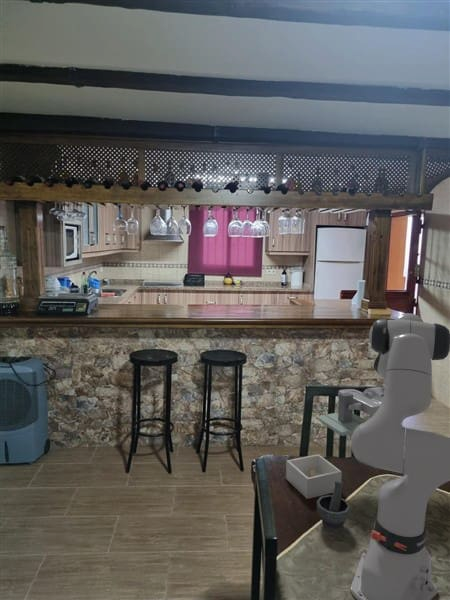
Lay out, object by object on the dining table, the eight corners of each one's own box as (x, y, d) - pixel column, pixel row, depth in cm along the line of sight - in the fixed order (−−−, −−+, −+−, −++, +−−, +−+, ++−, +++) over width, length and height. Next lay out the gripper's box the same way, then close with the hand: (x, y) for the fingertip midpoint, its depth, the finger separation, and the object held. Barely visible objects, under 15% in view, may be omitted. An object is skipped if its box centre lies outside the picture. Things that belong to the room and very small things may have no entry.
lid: (348, 416, 163) (349, 385, 162) (375, 431, 149) (377, 398, 148) (315, 422, 157) (316, 390, 156) (341, 438, 144) (342, 404, 142)
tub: (317, 471, 160) (318, 454, 160) (340, 490, 147) (341, 471, 147) (285, 478, 155) (286, 460, 154) (307, 498, 142) (307, 479, 142)
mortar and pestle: (342, 540, 122) (344, 500, 120) (311, 528, 127) (313, 490, 126) (353, 520, 131) (355, 483, 130) (325, 509, 136) (326, 474, 135)
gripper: (355, 383, 166) (326, 387, 161) (394, 400, 148) (363, 405, 142) (355, 398, 167) (326, 403, 162) (393, 417, 148) (362, 423, 143)
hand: (343, 404), depth 152 cm, fingers closed on lid, 3 cm apart
